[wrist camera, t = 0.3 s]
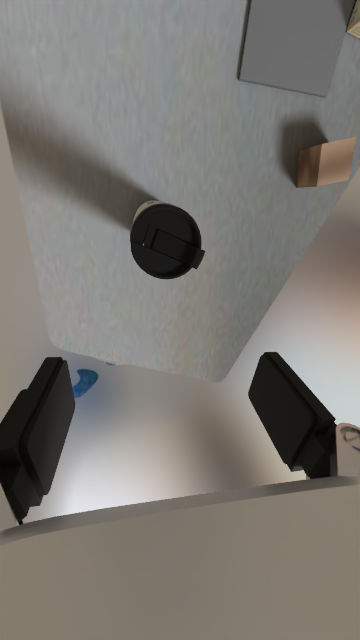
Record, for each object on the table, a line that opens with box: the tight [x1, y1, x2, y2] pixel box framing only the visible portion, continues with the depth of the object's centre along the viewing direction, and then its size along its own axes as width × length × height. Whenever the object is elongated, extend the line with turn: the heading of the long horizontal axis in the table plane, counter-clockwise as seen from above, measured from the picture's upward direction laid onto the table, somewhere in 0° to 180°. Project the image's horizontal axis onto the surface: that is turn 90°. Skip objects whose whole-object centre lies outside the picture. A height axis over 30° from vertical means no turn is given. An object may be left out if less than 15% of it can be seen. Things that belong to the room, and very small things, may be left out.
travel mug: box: [130, 200, 205, 279], centre depth 27 cm, size 6×7×20 cm
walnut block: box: [296, 137, 356, 188], centre depth 33 cm, size 5×5×5 cm
